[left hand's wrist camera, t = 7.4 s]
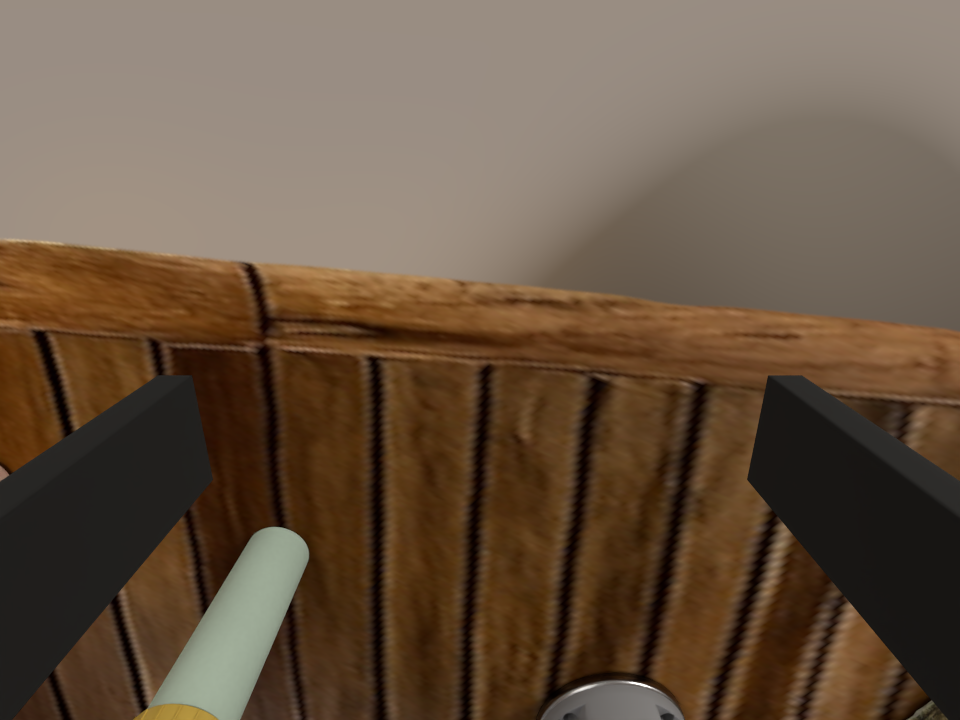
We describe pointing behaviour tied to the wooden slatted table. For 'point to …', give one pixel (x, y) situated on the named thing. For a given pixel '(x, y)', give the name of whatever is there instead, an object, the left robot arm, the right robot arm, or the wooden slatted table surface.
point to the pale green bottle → (238, 628)
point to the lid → (175, 713)
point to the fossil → (928, 713)
